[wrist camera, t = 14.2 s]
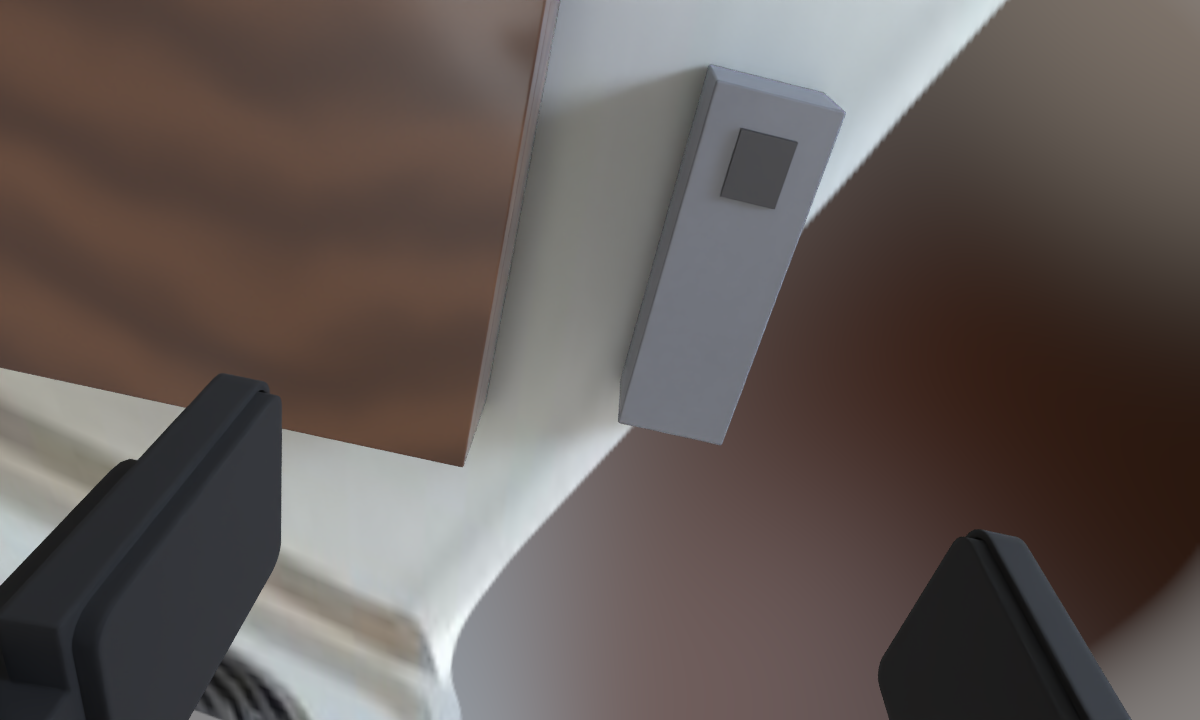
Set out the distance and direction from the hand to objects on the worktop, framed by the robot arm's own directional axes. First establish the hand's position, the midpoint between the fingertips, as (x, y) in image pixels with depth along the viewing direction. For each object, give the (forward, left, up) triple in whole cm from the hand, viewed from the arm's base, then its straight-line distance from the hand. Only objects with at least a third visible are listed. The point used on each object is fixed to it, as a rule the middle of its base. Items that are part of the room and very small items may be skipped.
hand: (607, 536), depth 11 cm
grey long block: (+3, +4, -22) cm, 23 cm away
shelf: (+3, -15, -22) cm, 27 cm away
